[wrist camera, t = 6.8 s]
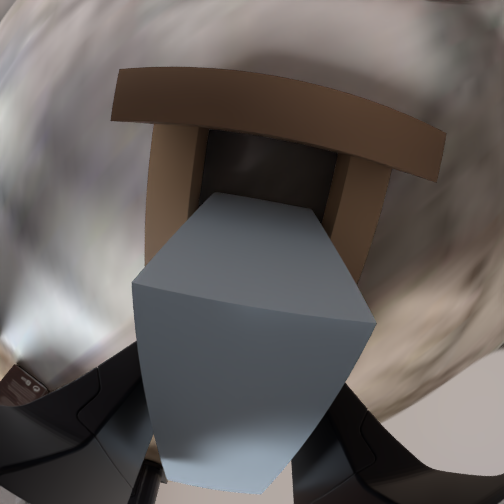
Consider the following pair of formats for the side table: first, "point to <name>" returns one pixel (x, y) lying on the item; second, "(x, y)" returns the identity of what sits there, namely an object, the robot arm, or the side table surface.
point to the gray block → (244, 340)
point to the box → (20, 388)
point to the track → (276, 127)
